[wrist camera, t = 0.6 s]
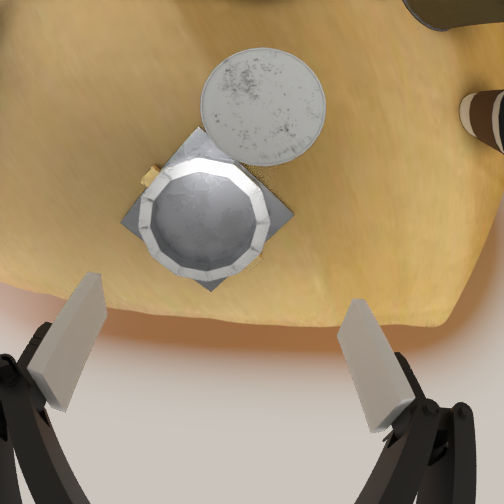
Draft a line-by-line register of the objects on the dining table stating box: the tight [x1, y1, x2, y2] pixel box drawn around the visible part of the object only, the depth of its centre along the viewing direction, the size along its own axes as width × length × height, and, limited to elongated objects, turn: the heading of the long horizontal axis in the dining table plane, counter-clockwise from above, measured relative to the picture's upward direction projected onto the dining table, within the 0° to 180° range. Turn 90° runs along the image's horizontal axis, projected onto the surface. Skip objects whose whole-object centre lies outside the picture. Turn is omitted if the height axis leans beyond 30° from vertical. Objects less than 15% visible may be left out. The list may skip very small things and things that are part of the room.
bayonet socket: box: [121, 127, 294, 292], centre depth 35 cm, size 18×16×3 cm
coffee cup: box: [459, 90, 504, 154], centre depth 25 cm, size 11×11×12 cm
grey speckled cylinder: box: [200, 47, 326, 166], centre depth 25 cm, size 10×10×12 cm
